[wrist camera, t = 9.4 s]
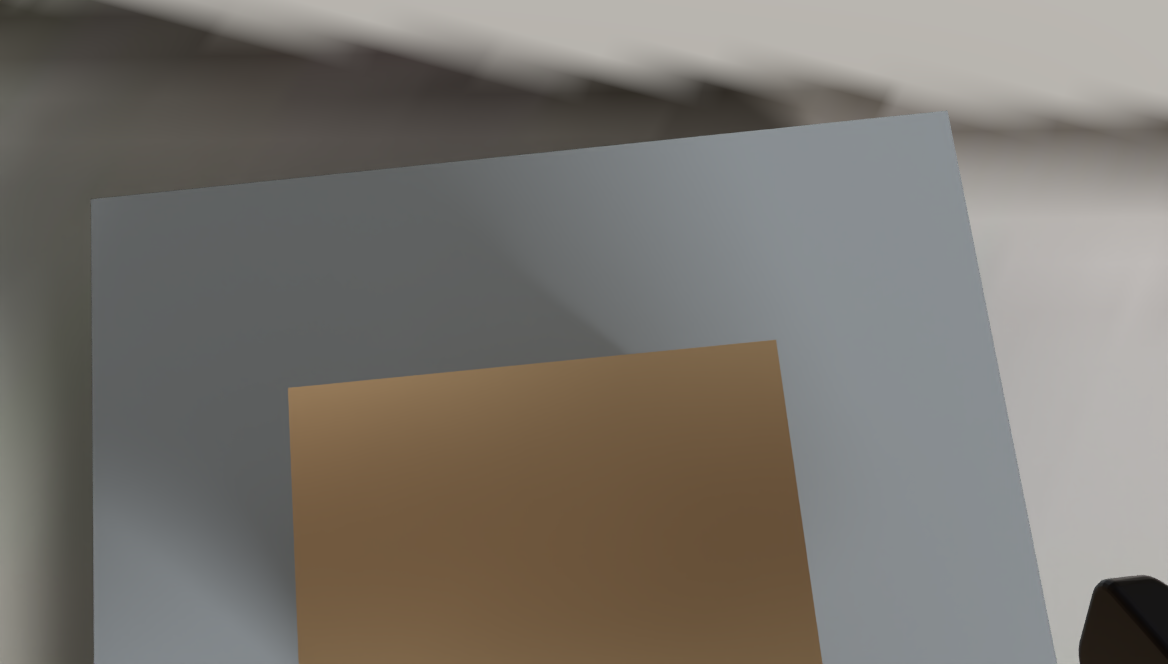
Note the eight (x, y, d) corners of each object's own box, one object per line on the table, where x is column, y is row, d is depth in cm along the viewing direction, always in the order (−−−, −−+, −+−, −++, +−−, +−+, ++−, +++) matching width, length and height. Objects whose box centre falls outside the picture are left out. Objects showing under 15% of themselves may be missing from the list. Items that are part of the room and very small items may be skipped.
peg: (715, 706, 17) (851, 867, 8) (452, 734, 17) (309, 927, 8) (683, 445, 18) (776, 339, 9) (434, 470, 18) (288, 387, 9)
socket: (1008, 949, 17) (1137, 1070, 13) (213, 1045, 16) (97, 1198, 13) (875, 199, 20) (947, 110, 16) (191, 271, 19) (91, 199, 15)
